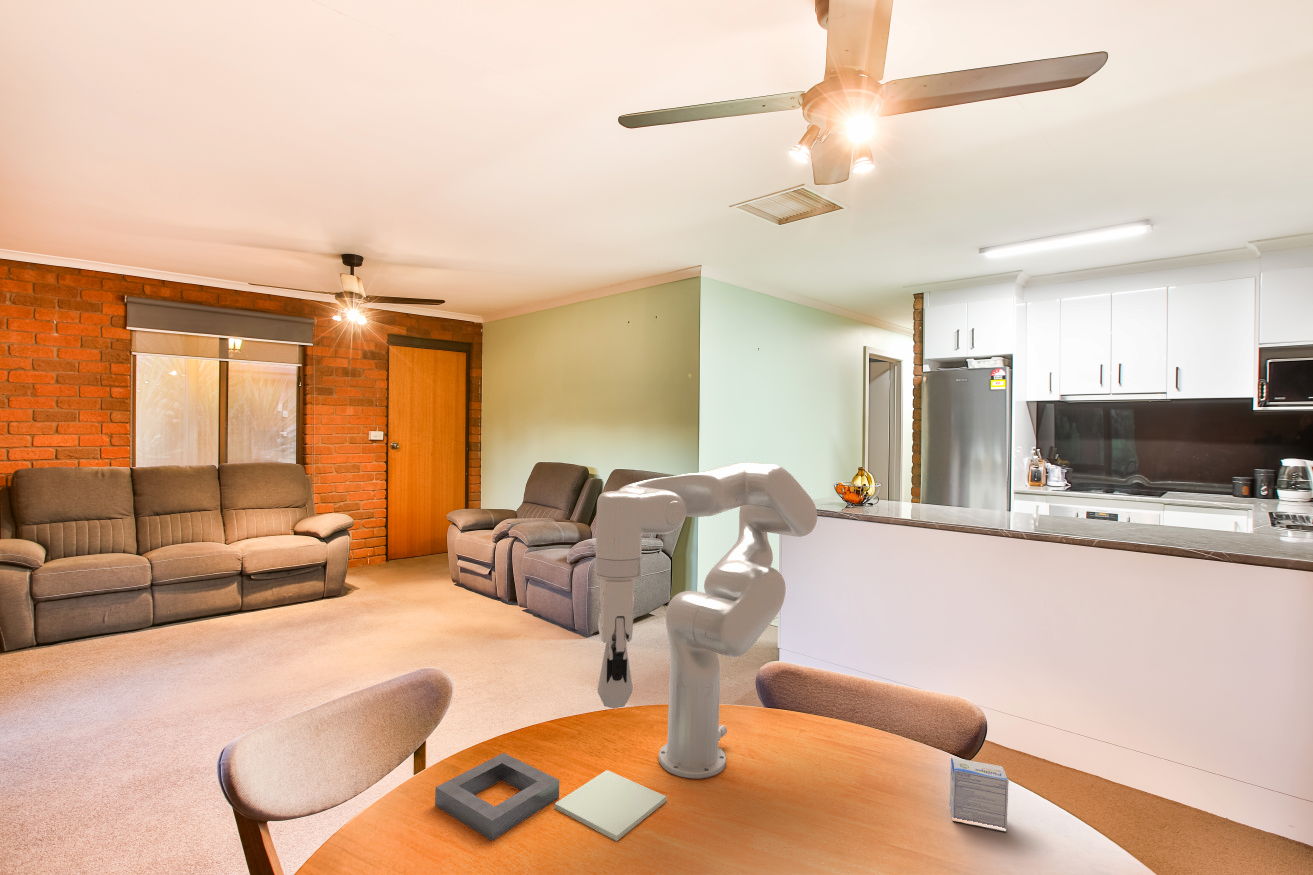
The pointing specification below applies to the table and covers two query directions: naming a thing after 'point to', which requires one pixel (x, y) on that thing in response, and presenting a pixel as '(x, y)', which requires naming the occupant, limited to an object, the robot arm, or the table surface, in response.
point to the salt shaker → (614, 685)
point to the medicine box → (978, 792)
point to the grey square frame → (501, 818)
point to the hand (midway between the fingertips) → (615, 677)
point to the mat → (610, 804)
